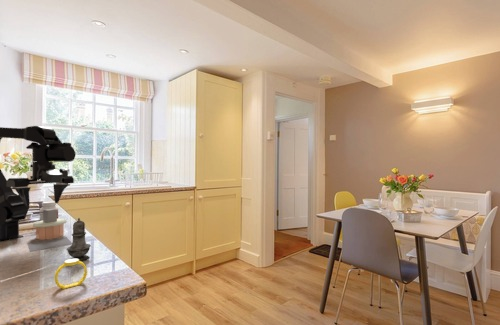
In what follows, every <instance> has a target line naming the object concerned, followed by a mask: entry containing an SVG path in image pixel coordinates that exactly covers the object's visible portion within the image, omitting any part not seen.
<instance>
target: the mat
mask: <svg viewBox="0 0 500 325" xmlns="http://www.w3.org/2000/svg"><path fill="white" fill-rule="evenodd" d="M72 242H73V241H71V240H70V238H69V237H67V236H66V237H65V236H63V237H57V238H52V239H45V240H41V241H36V242H35V241H33V242H30V243H29V242H28V243H27V246H28V249H29V253H31V252H39V251H42V250H48V249H54V248H58V247H59V248H60V247H64V246H71V245H72Z"/></svg>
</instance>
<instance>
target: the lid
mask: <svg viewBox="0 0 500 325" xmlns="http://www.w3.org/2000/svg"><path fill="white" fill-rule="evenodd" d="M66 223H67V219H66V218H58V219H57V209H46V210H43V220H42V221H40V220H37V221H35V222H33V223H32V227H34V228H36V227H50V226H57V225H61V224H64V225H65V224H66Z"/></svg>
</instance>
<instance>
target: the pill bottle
mask: <svg viewBox="0 0 500 325" xmlns="http://www.w3.org/2000/svg"><path fill="white" fill-rule="evenodd" d="M56 205H57V203H55V200H53V201H44V202H42V203H41V206H42V207H41V208H40V209H39V221H42V220H43V210H46V209H57V219H59V208H58V206H56Z"/></svg>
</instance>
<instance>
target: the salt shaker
mask: <svg viewBox="0 0 500 325" xmlns="http://www.w3.org/2000/svg"><path fill="white" fill-rule="evenodd" d="M85 228H86V224H85V222H84V221H83V220H81V218H80V217H78V218H77V220H76V221H74V222H73V224H72V233H71V236H72V241H71V242H72V244H71V245H69V246H68V247H66V251H67V253H68V255H69V256H70V258H69V259H75V258H76V259H79V261H81V262H83V263H84V262H85V261H88V260H89V259H90V255H87V254H88V253H89V251H90V249H91V246H92V244H90V243H87V242H86V234H87V232H86V230H85ZM87 259H88V260H87Z"/></svg>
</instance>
